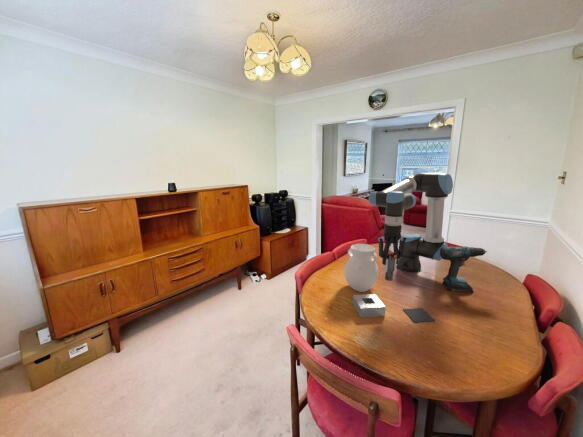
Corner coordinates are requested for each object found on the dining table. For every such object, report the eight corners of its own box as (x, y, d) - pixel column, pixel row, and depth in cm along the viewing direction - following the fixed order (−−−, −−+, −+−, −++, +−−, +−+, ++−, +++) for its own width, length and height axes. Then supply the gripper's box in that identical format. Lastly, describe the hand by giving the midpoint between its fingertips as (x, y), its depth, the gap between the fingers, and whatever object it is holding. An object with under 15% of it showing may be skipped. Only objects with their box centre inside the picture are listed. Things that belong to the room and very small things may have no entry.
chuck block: (352, 303, 129) (352, 295, 128) (374, 302, 130) (375, 293, 129) (360, 317, 117) (360, 308, 116) (385, 316, 118) (385, 306, 117)
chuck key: (381, 275, 128) (383, 248, 124) (388, 275, 128) (390, 248, 125) (389, 283, 119) (391, 255, 116) (396, 283, 119) (399, 255, 116)
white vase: (382, 286, 146) (385, 246, 140) (368, 299, 133) (370, 255, 127) (354, 277, 158) (355, 239, 152) (338, 288, 145) (339, 247, 139)
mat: (402, 309, 123) (403, 309, 123) (422, 308, 124) (422, 307, 124) (414, 322, 113) (414, 321, 113) (435, 321, 114) (435, 320, 114)
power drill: (485, 293, 136) (492, 250, 130) (439, 290, 140) (444, 248, 135) (476, 285, 144) (483, 244, 139) (433, 282, 149) (438, 243, 143)
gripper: (379, 226, 113) (376, 274, 118) (414, 225, 114) (409, 272, 119) (372, 222, 120) (370, 268, 125) (405, 221, 122) (401, 266, 127)
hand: (389, 270), depth 122 cm, fingers closed on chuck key, 3 cm apart
